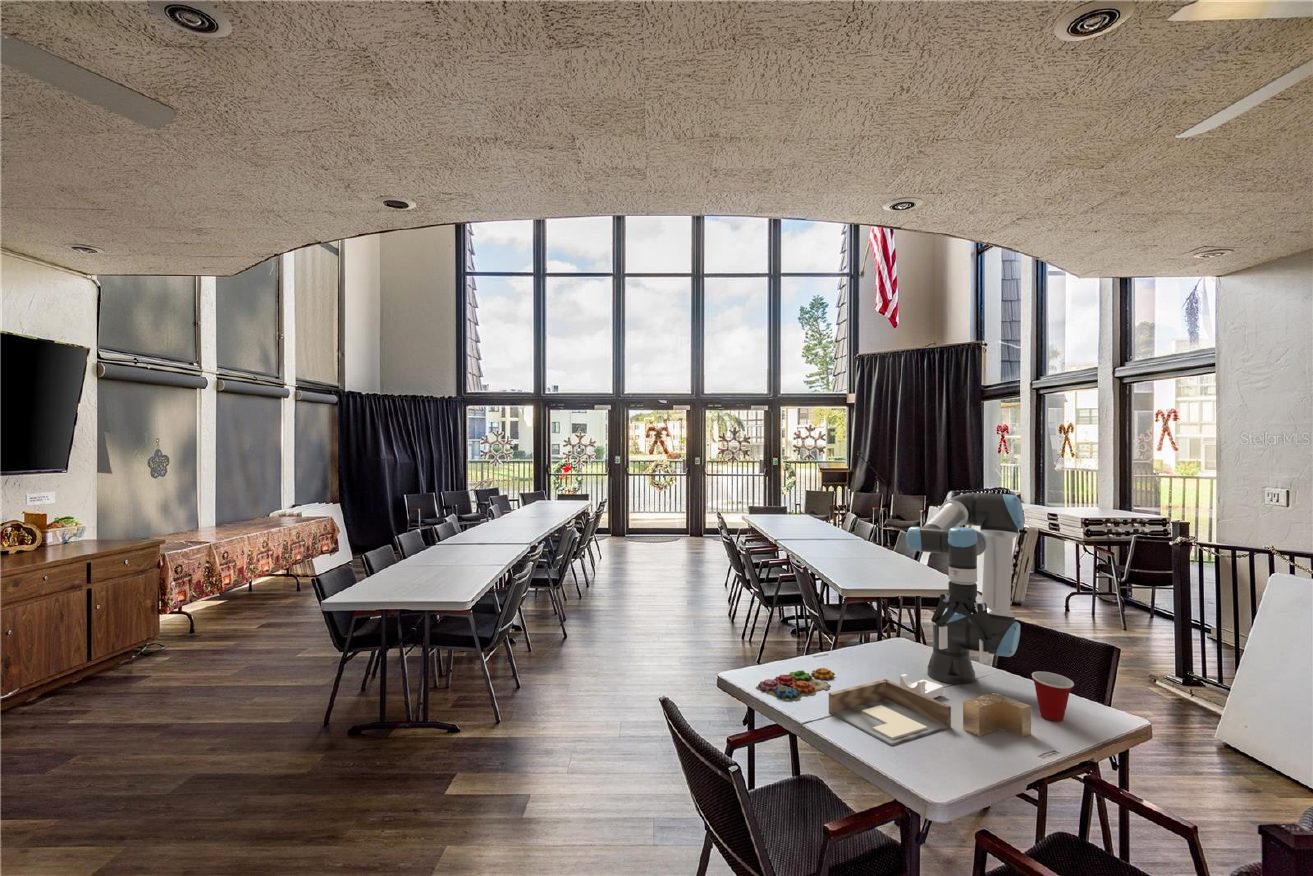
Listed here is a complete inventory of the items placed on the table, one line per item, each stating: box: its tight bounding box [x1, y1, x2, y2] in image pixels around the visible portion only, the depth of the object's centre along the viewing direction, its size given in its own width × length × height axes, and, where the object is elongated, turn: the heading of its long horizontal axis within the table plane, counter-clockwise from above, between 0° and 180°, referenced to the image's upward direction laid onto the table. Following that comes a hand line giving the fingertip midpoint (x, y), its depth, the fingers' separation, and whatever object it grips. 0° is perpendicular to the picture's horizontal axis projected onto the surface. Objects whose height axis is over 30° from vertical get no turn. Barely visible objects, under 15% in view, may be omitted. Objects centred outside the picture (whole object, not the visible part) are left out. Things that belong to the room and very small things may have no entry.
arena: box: [828, 678, 952, 747], centre depth 191 cm, size 24×24×6 cm
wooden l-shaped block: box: [962, 692, 1032, 738], centre depth 183 cm, size 14×11×8 cm
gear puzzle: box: [755, 667, 836, 703], centre depth 218 cm, size 31×16×4 cm, turn 127°
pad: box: [862, 705, 927, 740], centre depth 187 cm, size 14×17×1 cm
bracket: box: [899, 673, 944, 699], centre depth 207 cm, size 13×7×8 cm, turn 126°
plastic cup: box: [1031, 670, 1075, 723], centre depth 192 cm, size 11×11×12 cm
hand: (962, 655), depth 187 cm, fingers open, 13 cm apart
